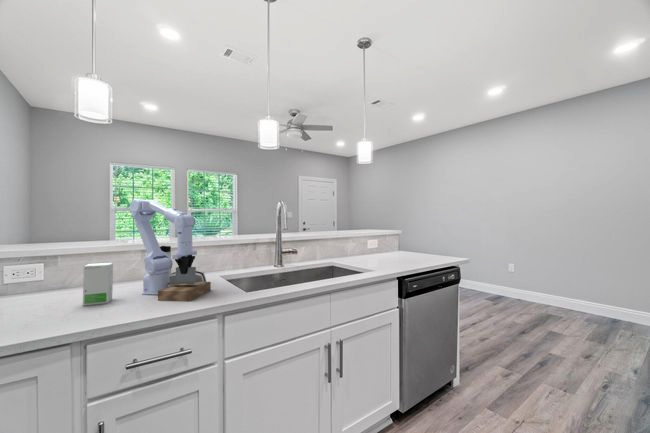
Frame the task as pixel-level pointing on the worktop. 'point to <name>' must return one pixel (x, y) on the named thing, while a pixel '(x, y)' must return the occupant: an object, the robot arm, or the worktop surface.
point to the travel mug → (168, 250)
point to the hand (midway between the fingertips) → (185, 273)
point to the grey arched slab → (199, 277)
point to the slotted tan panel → (184, 291)
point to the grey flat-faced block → (186, 276)
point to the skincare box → (97, 283)
